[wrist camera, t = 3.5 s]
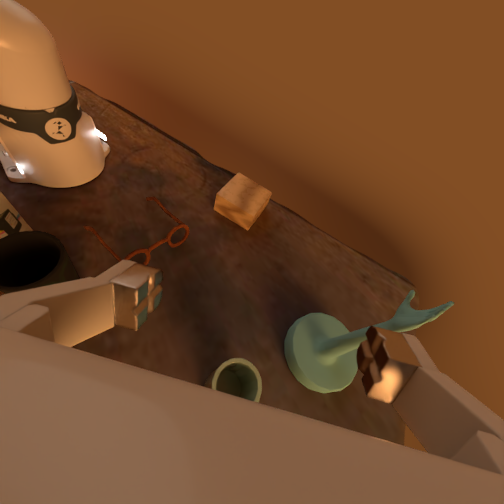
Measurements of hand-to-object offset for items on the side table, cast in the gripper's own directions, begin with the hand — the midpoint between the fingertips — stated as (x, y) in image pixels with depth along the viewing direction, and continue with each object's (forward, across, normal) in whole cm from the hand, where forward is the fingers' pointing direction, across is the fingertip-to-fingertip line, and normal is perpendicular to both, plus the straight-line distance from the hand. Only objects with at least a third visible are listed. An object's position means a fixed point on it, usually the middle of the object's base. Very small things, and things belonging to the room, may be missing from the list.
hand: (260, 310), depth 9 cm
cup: (+19, +29, +21) cm, 40 cm away
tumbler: (+16, +2, +28) cm, 33 cm away
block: (+46, +9, +9) cm, 48 cm away
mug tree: (+26, -12, +26) cm, 38 cm away
